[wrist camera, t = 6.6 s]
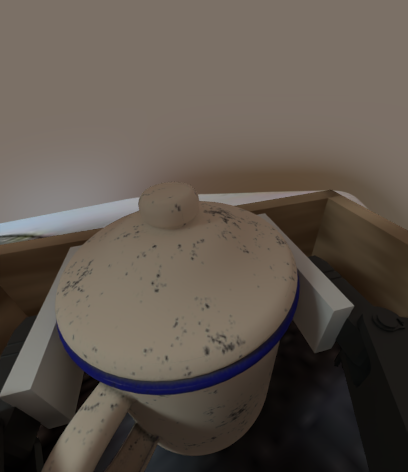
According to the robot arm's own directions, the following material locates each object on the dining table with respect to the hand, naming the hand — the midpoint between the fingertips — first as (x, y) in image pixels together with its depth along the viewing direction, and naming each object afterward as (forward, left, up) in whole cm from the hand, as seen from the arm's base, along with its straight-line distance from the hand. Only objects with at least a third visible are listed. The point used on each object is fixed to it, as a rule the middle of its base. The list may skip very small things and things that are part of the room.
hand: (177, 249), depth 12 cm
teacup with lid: (+3, -3, -7) cm, 8 cm away
